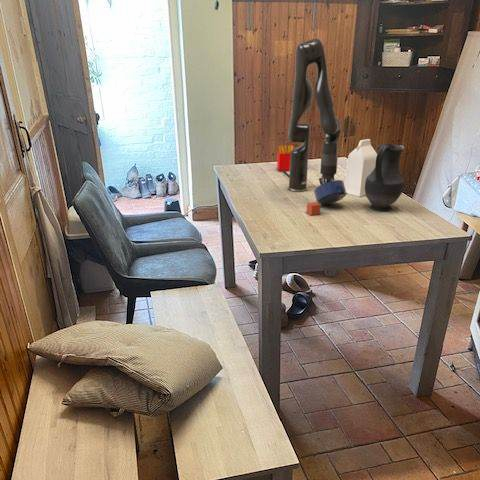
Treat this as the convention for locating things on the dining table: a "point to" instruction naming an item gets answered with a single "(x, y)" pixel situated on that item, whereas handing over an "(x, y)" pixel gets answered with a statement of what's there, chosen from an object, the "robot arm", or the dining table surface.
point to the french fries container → (284, 158)
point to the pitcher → (385, 178)
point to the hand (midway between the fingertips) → (326, 200)
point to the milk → (359, 167)
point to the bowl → (330, 192)
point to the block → (313, 208)
